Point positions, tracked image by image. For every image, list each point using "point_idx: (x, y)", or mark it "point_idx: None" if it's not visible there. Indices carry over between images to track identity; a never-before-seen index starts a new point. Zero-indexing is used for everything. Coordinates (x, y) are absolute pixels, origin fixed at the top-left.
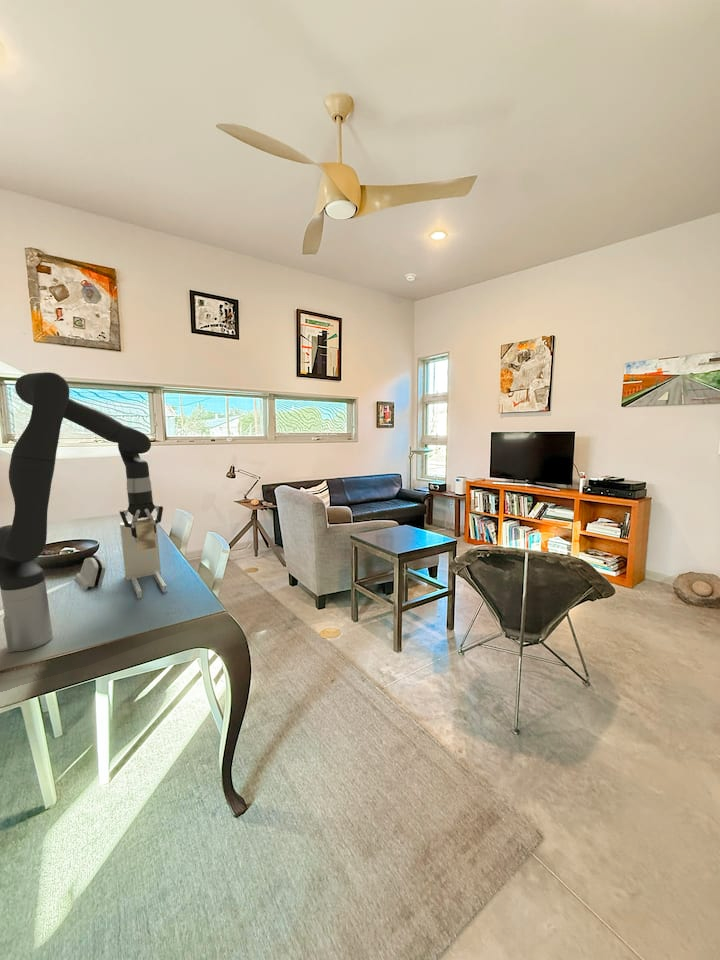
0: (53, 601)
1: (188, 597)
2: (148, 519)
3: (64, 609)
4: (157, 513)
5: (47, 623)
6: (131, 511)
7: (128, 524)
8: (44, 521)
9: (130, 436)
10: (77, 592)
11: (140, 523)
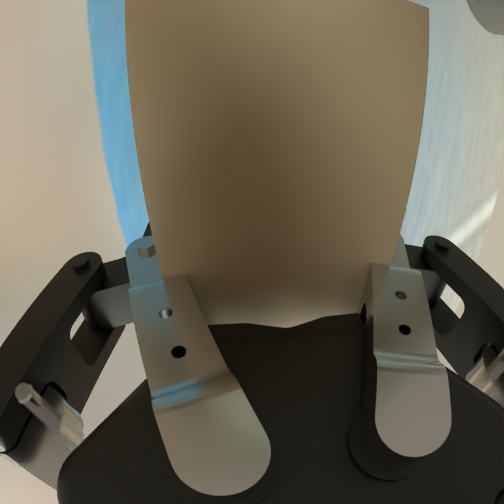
0: (450, 188)
1: None
2: (201, 297)
3: (446, 118)
4: (85, 384)
5: None
6: (483, 405)
7: (436, 254)
8: None
9: None
10: (407, 212)
11: (368, 80)
